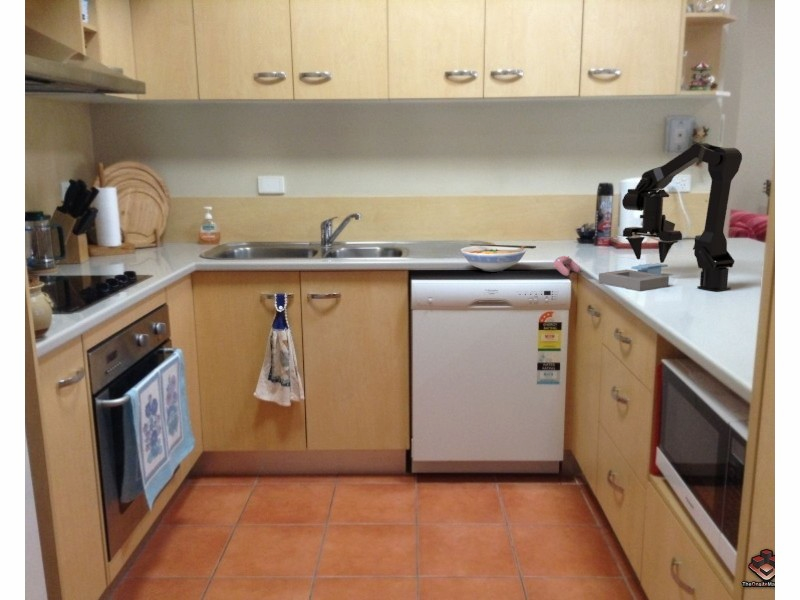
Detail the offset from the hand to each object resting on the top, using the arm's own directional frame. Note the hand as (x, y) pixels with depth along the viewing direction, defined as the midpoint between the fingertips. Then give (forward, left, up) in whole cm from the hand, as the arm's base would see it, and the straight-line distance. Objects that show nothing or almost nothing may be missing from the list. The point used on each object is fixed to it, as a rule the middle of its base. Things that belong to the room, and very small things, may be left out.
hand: (650, 260), depth 211 cm
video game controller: (+21, +16, -6) cm, 27 cm away
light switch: (-6, +14, -5) cm, 16 cm away
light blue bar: (0, 0, -5) cm, 5 cm away
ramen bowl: (+41, +31, -5) cm, 52 cm away
